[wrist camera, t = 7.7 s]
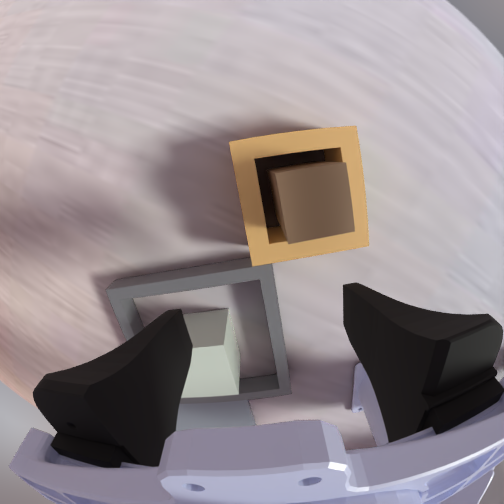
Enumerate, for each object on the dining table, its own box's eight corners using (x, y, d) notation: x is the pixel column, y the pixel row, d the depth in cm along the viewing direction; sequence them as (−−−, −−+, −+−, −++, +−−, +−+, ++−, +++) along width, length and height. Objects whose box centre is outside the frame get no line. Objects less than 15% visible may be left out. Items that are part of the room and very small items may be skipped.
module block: (228, 308, 22) (223, 344, 18) (240, 354, 24) (238, 394, 19) (171, 315, 23) (155, 350, 18) (187, 359, 24) (177, 397, 19)
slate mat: (246, 395, 26) (246, 398, 25) (264, 450, 29) (264, 452, 29) (141, 399, 26) (140, 401, 26) (177, 452, 30) (177, 454, 30)
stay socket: (336, 131, 18) (356, 125, 14) (348, 230, 20) (369, 246, 16) (233, 145, 18) (228, 141, 15) (252, 246, 21) (252, 266, 17)
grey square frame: (270, 253, 21) (272, 263, 19) (289, 379, 25) (291, 393, 23) (115, 279, 22) (105, 289, 20) (164, 390, 26) (159, 403, 24)
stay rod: (313, 161, 19) (346, 162, 12) (321, 207, 20) (354, 231, 13) (266, 169, 19) (275, 173, 12) (275, 215, 20) (288, 244, 13)
